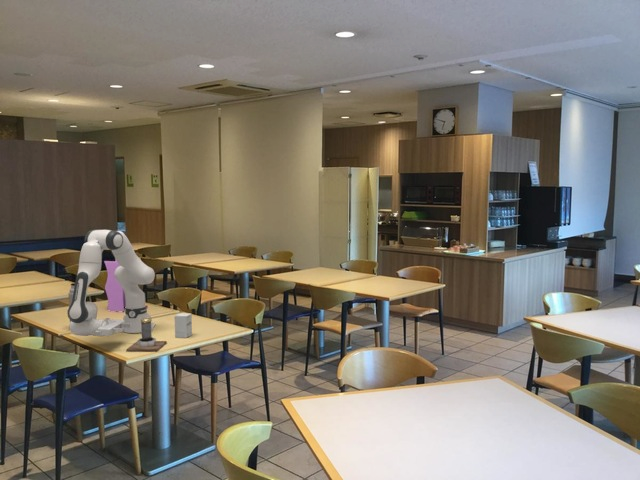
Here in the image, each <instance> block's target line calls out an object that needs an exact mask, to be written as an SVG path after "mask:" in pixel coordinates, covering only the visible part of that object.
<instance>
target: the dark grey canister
mask: <svg viewBox="0 0 640 480" xmlns="http://www.w3.org/2000/svg"><path fill="white" fill-rule="evenodd" d="M152 319H153V318H152V317H151V318H142V319H141V331H142V332H141V338H142V341H152V337H153V335H152V330H151V323H152V322H153V321H152Z"/></svg>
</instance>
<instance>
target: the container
mask: <svg viewBox="0 0 640 480" xmlns="http://www.w3.org/2000/svg"><path fill="white" fill-rule="evenodd" d="M114 260H115V261H114ZM114 260H112V261H111V260H104V261H103V262H104V264H105V268H106V272H107V279H106V282H105V285H104V290H105V293H106V297H107V302H108V303H107V310H110V311H109V312H111V311H122V312H121V313H124V312H125V308H124V307H126V300H125V293H124V290H123V288H122V286H121V285H120V283H119V282H118V281H117V280H116V279H115V276H114V273H115V270H116V268H117V267H119V266H120V265H119V264H118V263H117V261H116V259H115V258H114ZM123 311H124V312H123Z"/></svg>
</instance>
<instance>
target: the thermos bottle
mask: <svg viewBox="0 0 640 480" xmlns="http://www.w3.org/2000/svg"><path fill="white" fill-rule="evenodd" d="M74 287H75V282H74V283H73V282H72V283H70V288H69V292H68V294H67V295H68V308H69V307H70V305H71V303H72V298H73V293H74ZM70 322H71V320H70V319H69V323H70Z"/></svg>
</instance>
